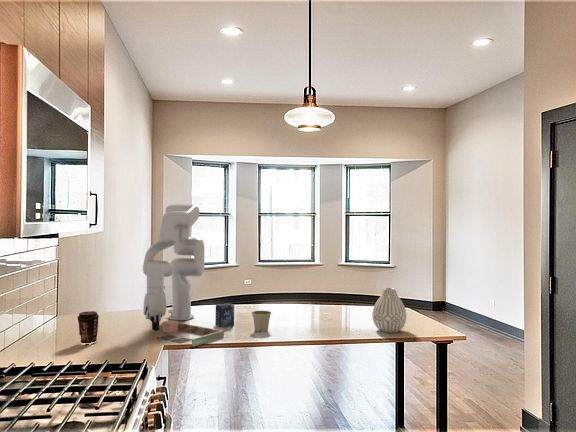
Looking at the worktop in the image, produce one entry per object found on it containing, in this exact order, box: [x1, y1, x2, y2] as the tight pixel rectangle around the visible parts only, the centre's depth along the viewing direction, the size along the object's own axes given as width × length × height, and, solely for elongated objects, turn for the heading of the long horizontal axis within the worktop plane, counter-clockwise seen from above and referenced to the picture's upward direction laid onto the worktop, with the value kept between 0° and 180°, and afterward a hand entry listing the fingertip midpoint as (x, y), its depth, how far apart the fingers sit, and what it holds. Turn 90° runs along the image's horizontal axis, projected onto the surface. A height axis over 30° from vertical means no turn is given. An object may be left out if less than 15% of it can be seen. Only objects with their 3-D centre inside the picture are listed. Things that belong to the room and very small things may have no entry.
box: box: [214, 302, 235, 328], centre depth 248 cm, size 8×6×11 cm
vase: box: [371, 287, 408, 334], centre depth 238 cm, size 16×16×20 cm
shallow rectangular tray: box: [178, 322, 225, 348], centre depth 226 cm, size 33×19×3 cm, turn 56°
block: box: [162, 319, 179, 334], centre depth 237 cm, size 5×5×4 cm
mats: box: [157, 334, 193, 344], centre depth 222 cm, size 15×7×1 cm, turn 56°
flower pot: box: [251, 310, 272, 333], centre depth 238 cm, size 9×9×9 cm
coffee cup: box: [77, 310, 100, 343], centre depth 214 cm, size 9×8×13 cm
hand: (155, 330), depth 230 cm, fingers closed
